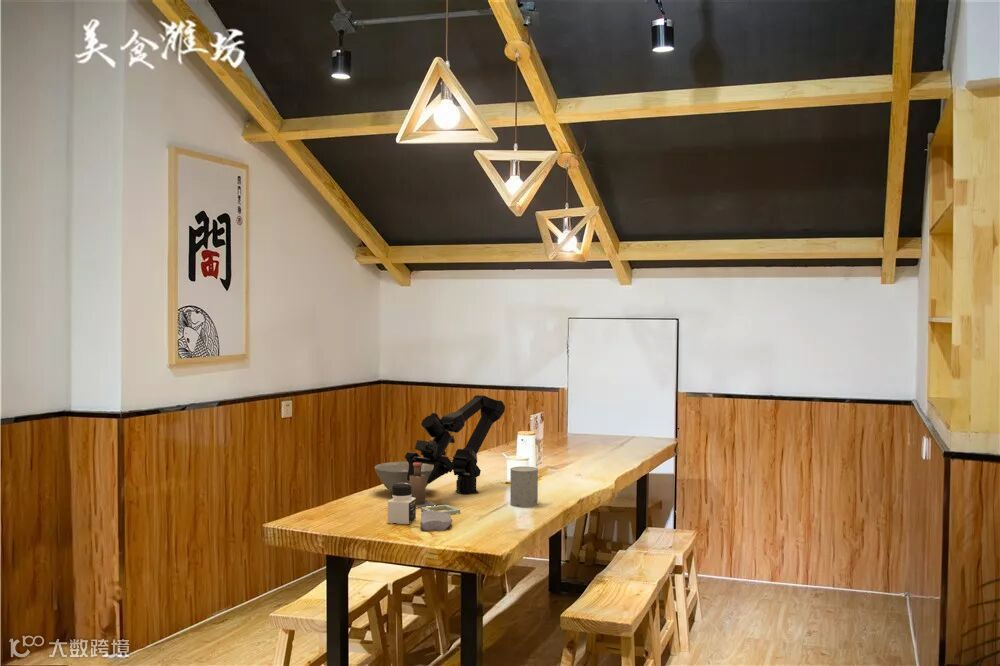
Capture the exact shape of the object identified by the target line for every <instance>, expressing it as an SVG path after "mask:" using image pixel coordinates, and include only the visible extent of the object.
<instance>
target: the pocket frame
mask: <svg viewBox="0 0 1000 666" xmlns="http://www.w3.org/2000/svg"><path fill="white" fill-rule="evenodd" d="M437 509H443V510H442V511H441V510H439V512H445V513H447V514H453V515H457V514H456V513H460V514H461V509H459V508H456V507H454V506H452V505H448V504H439V505H437V506H431V507H423V508H420V512H422V511H423V512H424V511H430V510H435V511H438V510H437ZM446 509H448V510H446Z"/></svg>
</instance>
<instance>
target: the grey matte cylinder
mask: <svg viewBox="0 0 1000 666" xmlns="http://www.w3.org/2000/svg"><path fill="white" fill-rule="evenodd" d="M538 471H539V468H538V467H534V466H514V467H511V468H510V488H509V489H510V490H509V491H510V493H509V494H510V497H509V498H510V500H509V502H510V504H509V505H510V506H511V507H516V508H534V507H537V506H538V505H539V502H538V501H539V500H538V498H539V497H538V496H539V495H538V494H539V493H538V491H539V490H538V489H539V488H538V486H539V485H538V484H539V482H538V481H539V479H538V478H539V474H538V473H539V472H538Z"/></svg>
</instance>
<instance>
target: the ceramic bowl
mask: <svg viewBox="0 0 1000 666" xmlns="http://www.w3.org/2000/svg"><path fill="white" fill-rule="evenodd" d="M433 468H434V465H430V464H424V463H423V464H422V466H421V475H425V489H426V488H427V487H428V485H429V484H428V483H427V480H428V478H429V476H430V474H431V472H432V470H433ZM408 470H409V463H408V462H407V461H402V460H401V461H394V462H393V461H392V462H383V463H380V464H379V463H378V464H376V465H374V471H375V472H376V474H377V476H378V478H379V480H380V482H381V483H382V484H383V486H384V487H385V488H386V489H387V490H388V491H389V492H390V493H392V486H393V485H394V484H397V483H408V484H410V481H408V480H407V475H408Z"/></svg>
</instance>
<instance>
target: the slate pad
mask: <svg viewBox="0 0 1000 666" xmlns="http://www.w3.org/2000/svg"><path fill="white" fill-rule="evenodd" d="M434 505H437V503H434V502H432V501H429V500H426V499H425V504H423V505H416V507H426V506H434ZM437 506H438V505H437Z"/></svg>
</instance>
